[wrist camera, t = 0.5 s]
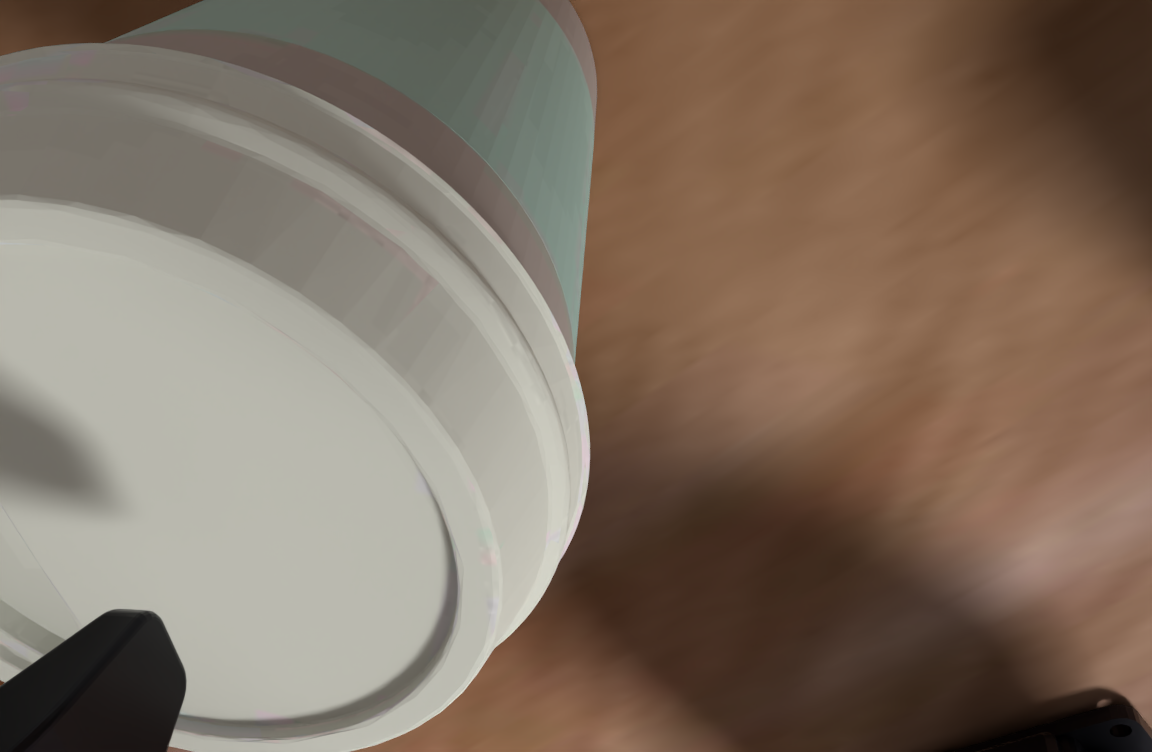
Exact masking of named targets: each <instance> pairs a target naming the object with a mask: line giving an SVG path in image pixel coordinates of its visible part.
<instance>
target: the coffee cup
mask: <svg viewBox="0 0 1152 752" xmlns="http://www.w3.org/2000/svg"><path fill="white" fill-rule="evenodd" d="M596 103H597V79H596V70H595V63H594V59H593V54H592V50H591V47H590V44H589V40H588V37H587V35H586V32H585V30H584V27H583V25H582V23H581V21H580V19H579V17H578V15H577V13H576V11H575V10H574V8H573V6H572V4H571V3H570V1H569V0H203V1H201V2H198V3H196V4H194V5H191V6H189V7H187V8H184V9H182V10H180V11H177V12H175V13H173V14H170V15H168V16H166V17H163V18H161V19H159V20H157V21H154V22H152V23H150V24H147V25H145V26H143V27H140V28H138V29H136V30H133V31H131V32H129V33H126V34H124V35H122V36H119V37H117V38H115V39H112V40H110V41H108V42H105V43H79V44H64V45H54V46H46V47H39V48H33V49H27V50H23V51H18V52H14V53H10V54H6V55H3V56H0V680H2V681H4V682H7V681H8V680H10V679H11V678H13V677H14V676H15V675H17V674H18V673H20V672H21V671H22V670H24V669H25V668H27V667H28V666H30V665H31V664H32V663H34V662H35V661H37V660H38V659H39V658H41V657H42V656H44V655H45V654H46V653H48V652H49V651H51V650H52V649H54V648H55V647H56V646H58V645H59V644H61V643H62V642H63V641H65V640H66V639H68V638H69V637H71V636H72V635H73V634H75V633H76V632H78V631H79V630H80V629H82V628H83V627H85V626H86V625H87V624H89V623H90V622H92V621H93V620H95V619H96V618H97V617H99V616H100V615H102V614H104V613H105V612H107V611H110V610H113V609H134V610H149V611H153V612H155V613H156V614H157V615H158V616H160V618H161V619H162V621H163V623H164V625H165V627H166V629H167V631H168V633H169V636H170V638H171V640H172V642H173V644H174V646H175V649H176V651H177V653H178V655H179V657H180V659H181V662H182V664H183V666H184V669H185V672H186V679H187V684H186V693H185V698H184V701H183V704H182V707H181V710H180V713H179V716H178V719H177V722H176V726H175V729H174V732H173V735H172V738H171V741H170V744H169V746H171V747H176V748H180V749H185V750H189V751H194V752H350V751H354V750H358V749H362V748H366V747H370V746H374V745H377V744H380V743H382V742H385V741H388V740H390V739H393V738H395V737H398V736H400V735H402V734H405V733H407V732H409V731H411V730H413V729H415V728H417V727H418V726H420V725H421V724H423V723H425V722H426V721H428V720H429V719H431V718H432V717H434V716H436V715H437V714H439V713H440V712H442V711H443V710H444V709H445V708H446V707H447V706H448V705H450V704H451V703H452V702H453V701H454V700H455V699H456V698H457V697H458V696H459V695H460V694H462V693H463V692H464V690H465V689H466V688H467V687H468V685H469V684H470V683H471V681H472V680H473V679H474V678H475V676H476V675H477V674H478V672H479V671H480V669H481V668H482V666H483V665H484V663H485V662H486V660H487V659H488V657H489V656H490V654H491V653H492V651H493V650H494V648H495V647H497V646H498V645H499V644H500V643H502V642H503V641H504V640H505V639H506V638H507V637H508V636H510V635H511V634H512V633H513V632H514V631H515V630H516V629H517V628H518V627H519V625H520V624H521V623H522V622H523V621H524V620H525V619H526V618H527V617H528V615H529V614H530V613H531V611H532V610H533V609H534V608H535V606H536V605H537V603H538V602H539V601H540V599H541V597H542V596H543V594H544V592H545V591H546V589H547V587H548V585H549V583H550V581H551V579H552V577H553V575H554V573H555V571H556V568H557V566H558V563H559V561H560V560H561V558H562V557H563V555H564V553H565V551H566V550H567V548H568V546H569V544H570V542H571V540H572V538H573V535H574V533H575V531H576V528H577V525H578V523H579V520H580V517H581V513H582V510H583V506H584V502H585V498H586V492H587V487H588V480H589V469H590V437H589V426H588V418H587V412H586V406H585V401H584V396H583V392H582V388H581V384H580V381H579V377H578V374H577V371H576V368H575V354H576V343H577V331H578V320H579V308H580V296H581V285H582V273H583V262H584V250H585V239H586V227H587V216H588V204H589V193H590V181H591V170H592V158H593V146H594V131H595V117H596Z"/></svg>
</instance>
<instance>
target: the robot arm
mask: <svg viewBox="0 0 1152 752" xmlns="http://www.w3.org/2000/svg"><path fill="white" fill-rule="evenodd" d="M186 684H187V679H186V672H185V669H184V666H183V664H182V662H181V659H180V657H179V655H178V653H177V651H176V649H175V646H174V644H173V642H172V640H171V638H170V636H169V633H168V631H167V629H166V627H165V625H164V623H163V621H162V619H161V618H160V616H158V615H157V614H156V613H155V612H153V611H149V610H134V609H113V610H110V611H107V612H105V613H104V614H102V615H100V616H99V617H97V618H96V619H95V620H93V621H92V622H90V623H89V624H87V625H86V626H85V627H83V628H82V629H80V630H79V631H78V632H76V633H75V634H73V635H72V636H71V637H69V638H68V639H66V640H65V641H63V642H62V643H61V644H59V645H58V646H56V647H55V648H54V649H52V650H51V651H49V652H48V653H46V654H45V655H44V656H42V657H41V658H39V659H38V660H37V661H35V662H34V663H32V664H31V665H30V666H28V667H27V668H25V669H24V670H22V671H21V672H20V673H18V674H17V675H15V676H14V677H13V678H11V679H10V680H8V681H7V682H6V683H4V684H3V685H1V686H0V752H167V750H168V747H169V744H170V741H171V738H172V735H173V732H174V729H175V726H176V722H177V719H178V716H179V713H180V710H181V707H182V704H183V701H184V698H185V693H186ZM953 752H1152V730H1151V729H1150V728H1149V726H1148V725H1147V724H1146V722H1145V721H1144V720H1143V718H1142V717H1141V716H1140V715H1139V713H1138V712H1137V711H1136V710H1135V709H1133V708H1132V707H1129V706H1126V705H1111V706H1107V707H1103V708H1100V709H1096V710H1093V711H1090V712H1086V713H1083V714H1079V715H1076V716H1072V717H1069V718H1066V719H1062V720H1059V721H1055V722H1052V723H1049V724H1045V725H1042V726H1038V727H1035V728H1032V729H1028V730H1025V731H1021V732H1018V733H1015V734H1011V735H1008V736H1004V737H1001V738H997V739H994V740H991V741H987V742H984V743H980V744H977V745H974V746H970V747H967V748H963V749H960V750H957V751H953Z"/></svg>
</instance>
